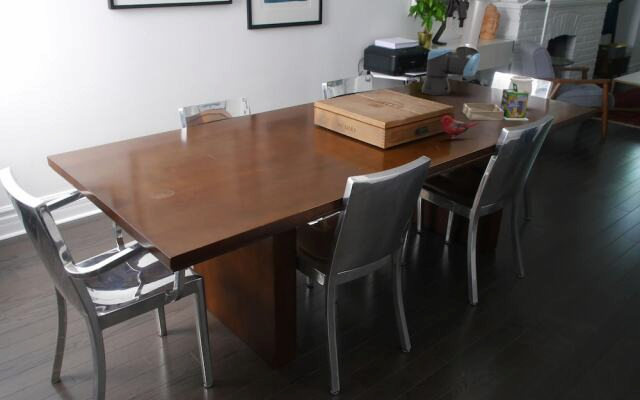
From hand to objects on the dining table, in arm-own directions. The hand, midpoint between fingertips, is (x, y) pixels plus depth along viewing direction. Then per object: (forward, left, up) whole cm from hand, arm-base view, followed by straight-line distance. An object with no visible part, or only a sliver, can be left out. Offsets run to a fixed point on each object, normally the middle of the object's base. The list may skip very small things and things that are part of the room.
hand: (453, 33), depth 248 cm
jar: (+4, +34, -35) cm, 49 cm away
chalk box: (+19, +27, -34) cm, 48 cm away
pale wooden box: (+19, +13, -35) cm, 42 cm away
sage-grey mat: (+19, +27, -35) cm, 48 cm away
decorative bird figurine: (+56, -6, -35) cm, 66 cm away
